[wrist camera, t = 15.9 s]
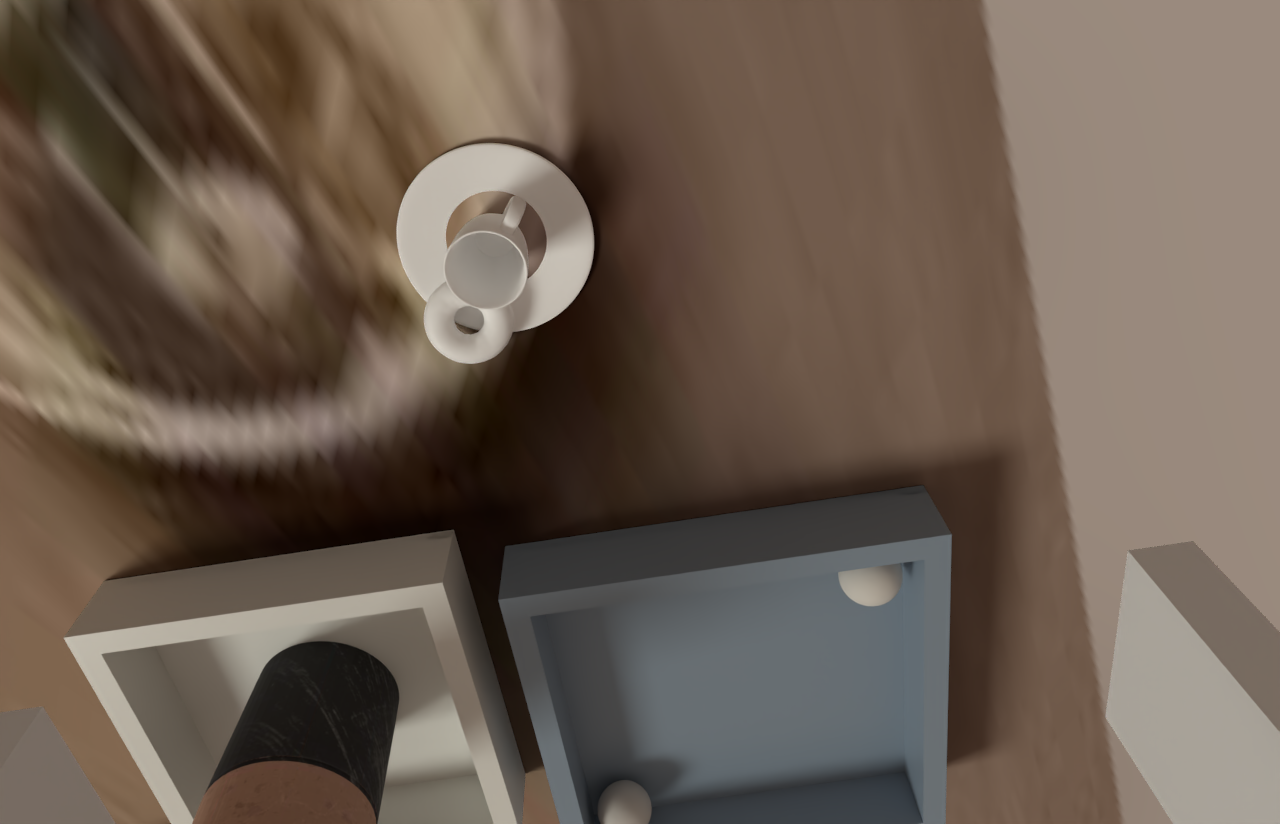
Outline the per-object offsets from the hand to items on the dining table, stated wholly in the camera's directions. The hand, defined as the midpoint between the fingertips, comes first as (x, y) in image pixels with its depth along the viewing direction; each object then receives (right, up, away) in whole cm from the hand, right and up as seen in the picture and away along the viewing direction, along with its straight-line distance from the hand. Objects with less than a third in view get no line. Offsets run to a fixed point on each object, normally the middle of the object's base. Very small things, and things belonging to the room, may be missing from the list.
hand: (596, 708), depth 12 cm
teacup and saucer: (-8, +11, +27) cm, 30 cm away
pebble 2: (+11, -3, +35) cm, 36 cm away
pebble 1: (0, -18, +42) cm, 45 cm away
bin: (+6, -10, +39) cm, 40 cm away
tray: (-16, -11, +38) cm, 42 cm away
